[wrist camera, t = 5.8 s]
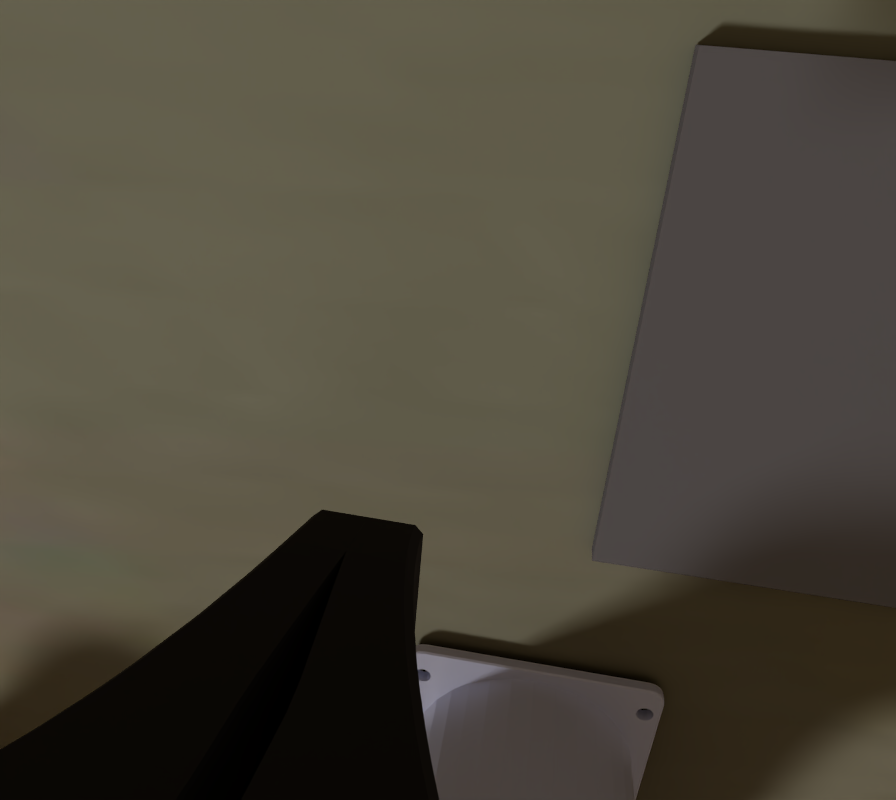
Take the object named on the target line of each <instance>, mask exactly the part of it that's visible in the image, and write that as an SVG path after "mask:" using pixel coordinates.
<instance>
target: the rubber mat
mask: <svg viewBox="0 0 896 800" xmlns="http://www.w3.org/2000/svg"><path fill="white" fill-rule="evenodd" d="M592 561H599V562H605V563H611V564H618V565H624V566H631V567H637V568H643V569H650V570H656V571H663V572H669V573H675V574H682V575H688V576H695V577H701V578H707V579H714V580H720V581H727V582H733V583H739V584H746V585H752V586H759V587H765V588H771V589H778V590H784V591H791V592H797V593H803V594H810V595H816V596H823V597H829V598H835V599H842V600H848V601H855V602H861V603H867V604H874V605H880V606H887V607H893V608H896V61H890V60H878V59H865V58H853V57H841V56H829V55H817V54H804V53H792V52H780V51H768V50H755V49H743V48H731V47H719V46H706V45H696V46H695V50H694V55H693V60H692V65H691V70H690V75H689V80H688V84H687V89H686V94H685V99H684V104H683V109H682V114H681V118H680V123H679V128H678V133H677V138H676V143H675V148H674V153H673V157H672V162H671V167H670V172H669V177H668V182H667V187H666V191H665V196H664V201H663V206H662V211H661V216H660V221H659V225H658V230H657V235H656V240H655V245H654V250H653V255H652V259H651V264H650V269H649V274H648V279H647V284H646V289H645V294H644V298H643V303H642V308H641V313H640V318H639V323H638V328H637V332H636V337H635V342H634V347H633V352H632V357H631V362H630V366H629V371H628V376H627V381H626V386H625V391H624V396H623V400H622V405H621V410H620V415H619V420H618V425H617V430H616V434H615V439H614V444H613V449H612V454H611V459H610V464H609V469H608V473H607V478H606V483H605V488H604V493H603V498H602V503H601V507H600V512H599V517H598V522H597V527H596V532H595V537H594V541H593V546H592Z"/></svg>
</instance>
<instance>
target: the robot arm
mask: <svg viewBox="0 0 896 800" xmlns="http://www.w3.org/2000/svg"><path fill="white" fill-rule="evenodd" d="M422 541H423V534H422V532H421V531H420V530H419V529H418V528H417V527H416V525H411V524H405V523H399V522H393V521H387V520H381V519H375V518H369V517H363V516H357V515H351V514H345V513H339V512H333V511H327V510H321V511H320V512H318V513H317V514H315V515H314V516H313V517H311V518H310V519H309V520H308V521H307V522H306V523H305V524H304V525H302V526H301V527H300V528H299V529H298V530H297V531H296V532H295V533H294V534H293V535H291V536H290V537H289V538H288V539H287V540H286V541H285V542H284V543H283V544H281V545H280V546H279V547H278V548H277V549H276V550H275V551H274V552H272V553H271V554H270V555H269V556H268V557H267V558H266V559H264V560H263V561H262V562H261V563H260V564H259V565H258V566H256V567H255V568H254V569H253V570H252V571H251V572H250V573H248V574H247V575H246V576H245V577H244V578H242V579H241V580H240V581H239V582H238V583H236V584H235V585H234V586H233V587H231V588H230V589H229V590H228V591H227V592H225V593H224V594H223V595H222V596H221V597H219V598H218V599H217V600H216V601H215V602H213V603H212V604H211V605H210V606H208V607H207V608H206V609H205V610H204V611H202V612H201V613H200V614H199V615H197V616H196V617H195V618H193V619H192V620H191V621H190V622H188V623H187V624H186V625H184V626H183V627H182V628H180V629H179V630H178V631H176V632H175V633H174V634H172V635H171V636H170V637H168V638H167V639H166V640H164V641H163V642H162V643H160V644H159V645H158V646H156V647H155V648H154V649H152V650H151V651H150V652H148V653H147V654H146V655H144V656H143V657H142V658H140V659H139V660H138V661H136V662H135V663H134V664H132V665H131V666H129V667H128V668H126V669H125V670H124V671H122V672H121V673H119V674H118V675H116V676H115V677H114V678H112V679H111V680H109V681H108V682H106V683H105V684H103V685H102V686H101V687H99V688H98V689H96V690H95V691H93V692H92V693H90V694H89V695H87V696H86V697H84V698H83V699H81V700H80V701H78V702H76V703H75V704H73V705H72V706H70V707H69V708H67V709H66V710H64V711H62V712H61V713H59V714H58V715H56V716H55V717H53V718H52V719H50V720H48V721H47V722H45V723H44V724H42V725H41V726H39V727H37V728H36V729H34V730H32V731H31V732H29V733H28V734H26V735H24V736H22V737H21V738H19V739H17V740H16V741H14V742H12V743H11V744H9V745H7V746H5V747H4V748H2V749H0V800H636V797H637V794H638V790H639V787H640V784H641V780H642V777H643V774H644V770H645V767H646V764H647V760H648V757H649V754H650V751H651V747H652V744H653V741H654V737H655V734H656V731H657V727H658V724H659V721H660V717H661V714H662V711H663V707H664V695H663V691H662V690H661V688H660V687H658V686H657V685H655V684H652V683H648V682H643V681H637V680H631V679H625V678H619V677H613V676H608V675H602V674H596V673H590V672H584V671H579V670H573V669H567V668H561V667H555V666H550V665H544V664H538V663H532V662H526V661H521V660H515V659H509V658H503V657H497V656H491V655H486V654H480V653H474V652H468V651H462V650H457V649H451V648H445V647H439V646H433V645H428V644H419V645H416V643H415V621H416V610H417V598H418V587H419V575H420V564H421V552H422ZM420 669H424V670H426V671H428V672H424V671H421V670H420ZM641 709H648V710H641Z"/></svg>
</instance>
